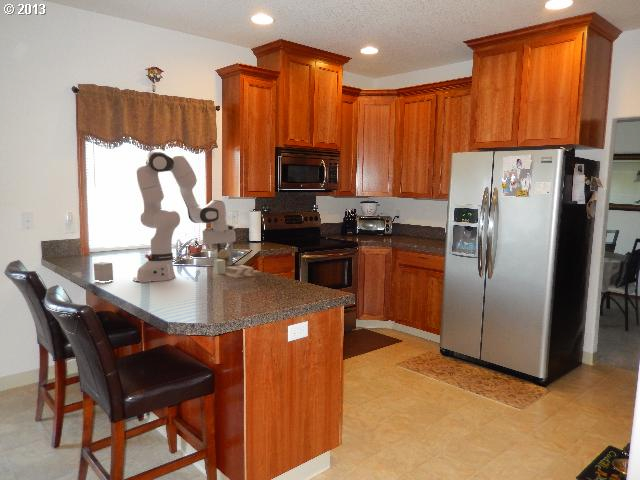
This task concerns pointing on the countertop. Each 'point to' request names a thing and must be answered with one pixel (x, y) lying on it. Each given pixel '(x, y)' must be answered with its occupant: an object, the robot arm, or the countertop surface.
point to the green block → (219, 266)
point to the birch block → (239, 271)
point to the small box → (103, 271)
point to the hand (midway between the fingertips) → (219, 250)
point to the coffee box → (225, 253)
